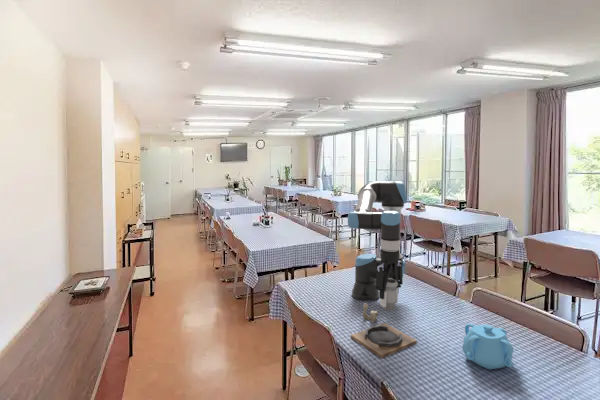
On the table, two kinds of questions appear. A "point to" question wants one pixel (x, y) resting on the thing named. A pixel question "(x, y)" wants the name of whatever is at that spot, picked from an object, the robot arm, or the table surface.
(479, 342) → the decorative pot
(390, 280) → the cup
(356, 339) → the ring holder
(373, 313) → the bone
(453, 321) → the table surface
